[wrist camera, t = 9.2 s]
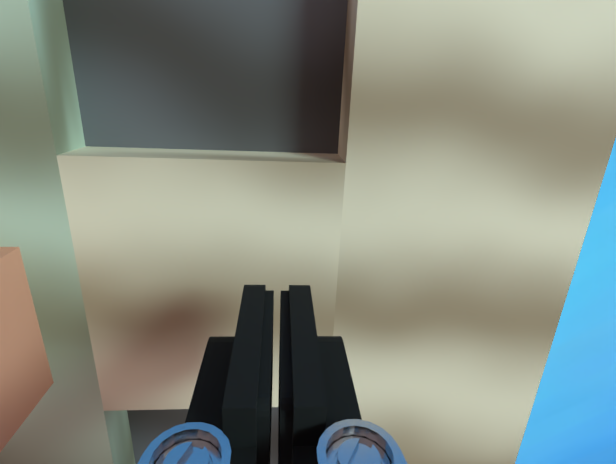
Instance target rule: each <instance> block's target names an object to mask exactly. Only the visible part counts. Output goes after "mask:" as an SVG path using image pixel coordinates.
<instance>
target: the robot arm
mask: <svg viewBox="0 0 616 464" xmlns="http://www.w3.org/2000/svg"><path fill="white" fill-rule="evenodd" d="M273 314H274V290H266V285H244V288H243V293H242V299H241V304H240V310H239V316H238V321H237V327H236V332H235V336H219V337H209V339H208V342H207V345H206V349H205V352H204V356H203V360H202V363H201V367H200V370H199V374H198V377H197V381H196V385H195V388H194V392H193V395H192V399H191V402H190V406H189V410H188V413H187V417H186V420H185V423H184V424H180V425H177V426H174V427H172V428H170V429H168V430H166V431H164V432H163V433H161V434H160V435H159V436H158V437H157V438H155V439H154V440H153V441H152V442H151V443H150V444H149V446H148V447H147V449H146V450H145V451H144V453H143V454H142V456H141V458H140V460H139V462H138V463H137V464H270V454H271V418H272V381H273ZM278 464H407V462H406V460H405V458H404V456H403V453H402V451H401V449H400V447H399V446H398V444H397V443H396V441H395V440H394V438H393V437H392V436H391V435H390V434H389V433H388V432H386V431H385V430H384V429H383V428H381V427H380V426H378V425H376V424H374V423H372V422H369V421H364V420H362V418H361V414H360V410H359V405H358V401H357V397H356V393H355V388H354V384H353V380H352V376H351V372H350V367H349V363H348V359H347V355H346V350H345V346H344V342H343V339H342V337H341V336H317V330H316V323H315V316H314V309H313V302H312V295H311V288H310V285H289V291H281V295H280V341H279V396H278Z"/></svg>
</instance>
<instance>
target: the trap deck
mask: <svg viewBox="0 0 616 464" xmlns="http://www.w3.org/2000/svg"><path fill="white" fill-rule="evenodd" d="M615 138H616V0H0V247H19V248H20V252H21V256H22V260H23V264H24V268H25V272H26V276H27V280H28V284H29V288H30V292H31V295H32V299H33V303H34V307H35V311H36V315H37V319H38V323H39V327H40V331H41V335H42V339H43V343H44V347H45V351H46V354H47V358H48V362H49V366H50V370H51V374H52V378H53V382H54V383H53V384H52V385H51V387H50V388H49V389H48V391H47V392H46V393H45V395H44V396H43V397H42V399H41V400H40V401H39V402H38V404H37V405H36V406H35V408H34V409H33V410H32V412H31V413H30V414H29V416H28V417H27V418H26V419H25V421H24V422H23V423H22V425H21V426H20V427H19V429H18V430H17V431H16V433H15V434H14V435H13V436H12V438H11V439H10V440H9V442H8V443H7V444H6V446H5V447H4V448H3V450H2V451H1V452H0V464H137V463H138V462H139V460H140V458H141V456H142V454H143V453H144V451H145V450H146V449H147V447H148V446H149V444H150V443H151V442H152V441H153V440H154V439H155V438H157V437H158V436H159V435H160V434H161V433H163V432H164V431H166V430H168V429H170V428H172V427H174V426H177V425H180V424H184V423H185V420H186V417H187V413H188V410H189V406H190V402H191V399H192V395H193V392H194V388H195V385H196V381H197V377H198V374H199V370H200V367H201V363H202V360H203V356H204V352H205V349H206V345H207V342H208V339H209V337H219V336H235V332H236V327H237V321H238V316H239V310H240V304H241V299H242V293H243V288H244V285H266V290H274V314H273V381H272V418H271V454H270V464H278V396H279V341H280V295H281V291H289V285H310V288H311V295H312V302H313V309H314V316H315V323H316V330H317V336H341V337H342V339H343V342H344V346H345V350H346V355H347V359H348V363H349V367H350V372H351V376H352V380H353V384H354V388H355V393H356V397H357V401H358V405H359V410H360V414H361V418H362V420H364V421H369V422H372V423H374V424H376V425H378V426H380V427H381V428H383V429H384V430H385V431H386V432H388V433H389V434H390V435H391V436H392V437H393V438H394V440H395V441H396V443H397V444H398V446H399V447H400V449H401V451H402V453H403V456H404V458H405V460H406V462H407V464H515V461H516V458H517V455H518V451H519V448H520V445H521V442H522V438H523V435H524V432H525V429H526V425H527V422H528V419H529V416H530V413H531V409H532V406H533V403H534V400H535V396H536V393H537V390H538V387H539V383H540V380H541V377H542V374H543V371H544V367H545V364H546V361H547V358H548V354H549V351H550V348H551V345H552V341H553V338H554V335H555V332H556V328H557V325H558V322H559V319H560V316H561V312H562V309H563V306H564V303H565V299H566V296H567V293H568V290H569V286H570V283H571V280H572V277H573V274H574V270H575V267H576V264H577V261H578V257H579V254H580V251H581V248H582V244H583V241H584V238H585V235H586V232H587V228H588V225H589V222H590V219H591V215H592V212H593V209H594V206H595V202H596V199H597V196H598V193H599V190H600V186H601V183H602V180H603V177H604V173H605V170H606V167H607V164H608V160H609V157H610V154H611V151H612V148H613V144H614V141H615Z"/></svg>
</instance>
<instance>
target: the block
mask: <svg viewBox="0 0 616 464" xmlns="http://www.w3.org/2000/svg"><path fill="white" fill-rule="evenodd" d="M53 383H54V382H53V378H52V374H51V370H50V366H49V362H48V358H47V354H46V351H45V347H44V343H43V339H42V335H41V331H40V327H39V323H38V319H37V315H36V311H35V307H34V303H33V299H32V295H31V292H30V288H29V284H28V280H27V276H26V272H25V268H24V264H23V260H22V256H21V252H20V248H19V247H0V452H1V451H2V450H3V448H4V447H5V446H6V444H7V443H8V442H9V440H10V439H11V438H12V436H13V435H14V434H15V433H16V431H17V430H18V429H19V427H20V426H21V425H22V423H23V422H24V421H25V419H26V418H27V417H28V416H29V414H30V413H31V412H32V410H33V409H34V408H35V406H36V405H37V404H38V402H39V401H40V400H41V399H42V397H43V396H44V395H45V393H46V392H47V391H48V389H49V388H50V387H51V385H52V384H53Z"/></svg>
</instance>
